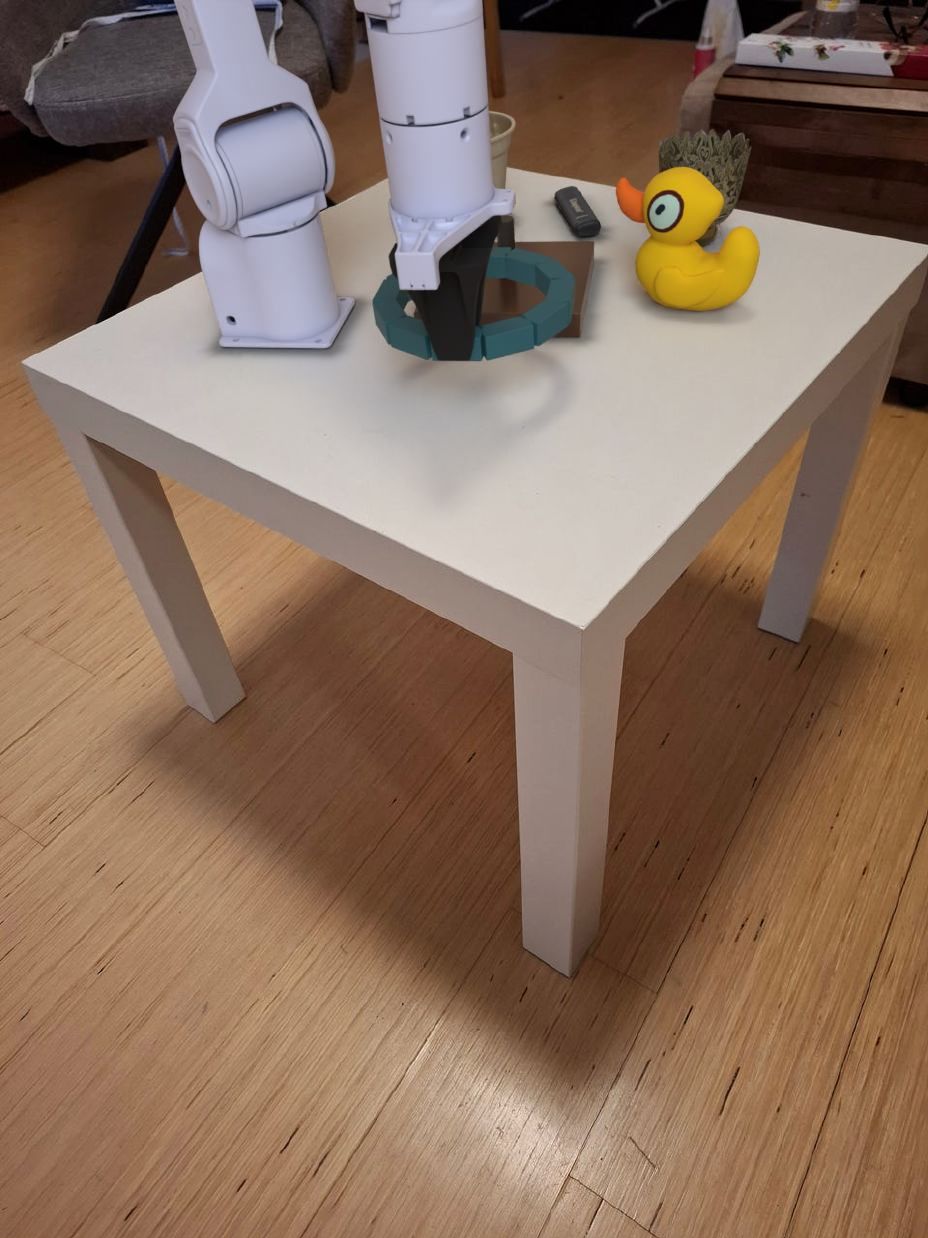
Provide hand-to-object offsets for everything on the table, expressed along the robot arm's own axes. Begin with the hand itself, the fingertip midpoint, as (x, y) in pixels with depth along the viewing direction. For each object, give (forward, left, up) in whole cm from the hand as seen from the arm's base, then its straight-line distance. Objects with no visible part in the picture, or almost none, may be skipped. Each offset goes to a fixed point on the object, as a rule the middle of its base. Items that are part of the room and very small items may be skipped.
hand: (457, 349), depth 55 cm
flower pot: (-6, +35, -6) cm, 36 cm away
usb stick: (+4, +36, -6) cm, 37 cm away
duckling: (+14, +19, -6) cm, 24 cm away
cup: (+15, +31, -6) cm, 35 cm away
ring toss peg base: (0, +20, -6) cm, 21 cm away
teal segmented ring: (0, +6, 0) cm, 6 cm away
